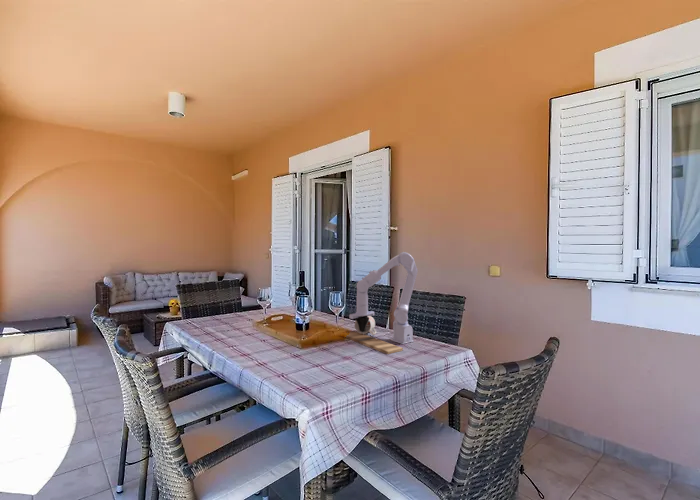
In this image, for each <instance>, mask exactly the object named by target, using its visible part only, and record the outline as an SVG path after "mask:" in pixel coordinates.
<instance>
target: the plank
mask: <svg viewBox="0 0 700 500" xmlns="http://www.w3.org/2000/svg"><path fill="white" fill-rule="evenodd" d="M349 332H350V334H349V335H347V336H346V338H345V339H348V340H350V341H353V342H355V343H358V344H360V340H364V339H369V338H374V336H370V335H368V334H360V333H358V332H357V331H356V330H353V331H349Z"/></svg>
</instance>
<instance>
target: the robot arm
mask: <svg viewBox="0 0 700 500" xmlns="http://www.w3.org/2000/svg"><path fill="white" fill-rule="evenodd" d="M401 265H402V266H403V267H404V269H405V271H406V277H405V279H404V280H405V281H404V283H403V287H402V291H401V295H400V298H399V302H398V304H397V307H396V308H395V309H394V311H393V316H394V320H393V325H392V327H393V328H392V329H393V330H392V331H393V332H392V333H393V334H392V335H393V336H392V337H391V338H389V340H390V341H392V342H395V343H398V344H401V345H405V344H408V343H413V342H414V340H413V338H414V337H413V336H414V335H413V333H414V329H413V327H412V325H410V324H409V321H408V320H409V316H408V313H409V307H410V306H409V305H410V302H411V297H412V295H413V291H414V286H415V284H416V283H415V282H416V279H417V276H418V272H419V271H418V270H419V269H418V268H417V265H416V262H415V259H414V257H413V256H412V255H411V253H410V252H409V253H408V252H406V251H402V252H400V253H399V254H397V255H395V256H393V257H392V258H390V259H389V260H388V261H387V262H386V263H384V264H383V265H382V266H381V267H380V268H379V269H378V270H370V271H368V274H367V275H366V276H364V277H362V278H361V279H360V280H358V281H357V283H356V311H355V313H350V314H349V317H348V318H349V319H351V320H353V319H355V321H357V323H358V325H359V329H360V331H361V332H364V331H365V327H366V324H367V322H368V320H369V317H367V316H371V317H372V316H375V311H373V310H370V311H369V295H368V291H369V288H372V287H373V286H374V285H375V284H377V283H378V282H379V281H380V280H381V279H382V276H383V275H384V274H386V273H387V272H388V271H389V270H391V269H392V268H394V267H399V266H401Z"/></svg>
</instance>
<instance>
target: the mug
mask: <svg viewBox="0 0 700 500" xmlns="http://www.w3.org/2000/svg"><path fill="white" fill-rule="evenodd" d="M367 317H369V320H368V322H367V324H366V327H365V331H364V332H361V331H360V329H359V325H358V323H357V321H356V320H355V322H354V329H355V331H356V332H358V333H360V334H364V335H367V333H370V334H371V335H372V336H375V335H376V333H378V332H377V330H376V328H375V327H376V321H375V318H374V317H372V316H367Z"/></svg>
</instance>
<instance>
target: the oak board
mask: <svg viewBox="0 0 700 500" xmlns="http://www.w3.org/2000/svg"><path fill="white" fill-rule="evenodd" d="M373 337H374V336H373ZM359 344H360V345H363V346H366V347H368V348H370V349H374V350H376V351H379V352H380V353H384V354H385V355H386V354H387V355H391V354H395V353H399V352H402V351H403V350H404V349H403V347H401V346H398V345H395V344H392V343H390V342H387V341H385V340H381V339H379V338H376V337H374V338H369V339H364V340H360V343H359Z"/></svg>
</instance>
